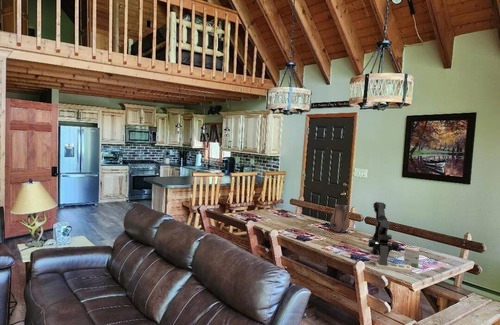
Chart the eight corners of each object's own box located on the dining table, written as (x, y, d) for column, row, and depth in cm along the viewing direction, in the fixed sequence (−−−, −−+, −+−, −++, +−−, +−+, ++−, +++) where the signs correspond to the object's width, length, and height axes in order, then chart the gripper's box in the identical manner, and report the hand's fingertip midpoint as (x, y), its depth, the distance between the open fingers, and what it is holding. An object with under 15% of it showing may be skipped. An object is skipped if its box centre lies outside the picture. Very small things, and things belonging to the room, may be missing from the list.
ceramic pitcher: (341, 228, 330) (343, 203, 328) (354, 234, 310) (356, 207, 308) (326, 229, 324) (327, 203, 323) (338, 235, 304) (340, 207, 303)
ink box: (418, 266, 233) (420, 249, 232) (416, 268, 229) (417, 250, 228) (405, 262, 238) (407, 246, 238) (403, 264, 235) (404, 247, 234)
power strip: (376, 269, 221) (377, 264, 220) (375, 265, 229) (375, 259, 229) (411, 274, 216) (411, 269, 215) (408, 269, 224) (409, 264, 224)
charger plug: (379, 265, 222) (381, 246, 222) (378, 263, 227) (380, 244, 226) (386, 266, 221) (388, 247, 220) (385, 264, 226) (387, 245, 225)
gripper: (370, 227, 229) (370, 248, 219) (399, 231, 224) (401, 252, 214) (368, 236, 237) (368, 256, 227) (396, 239, 232) (398, 260, 222)
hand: (383, 256), depth 222 cm, fingers closed on charger plug, 4 cm apart
